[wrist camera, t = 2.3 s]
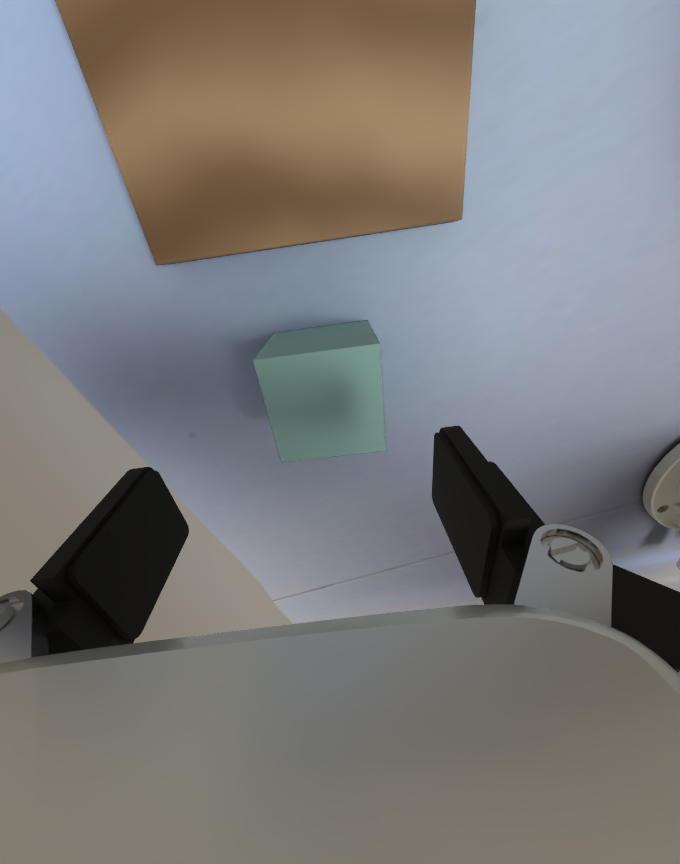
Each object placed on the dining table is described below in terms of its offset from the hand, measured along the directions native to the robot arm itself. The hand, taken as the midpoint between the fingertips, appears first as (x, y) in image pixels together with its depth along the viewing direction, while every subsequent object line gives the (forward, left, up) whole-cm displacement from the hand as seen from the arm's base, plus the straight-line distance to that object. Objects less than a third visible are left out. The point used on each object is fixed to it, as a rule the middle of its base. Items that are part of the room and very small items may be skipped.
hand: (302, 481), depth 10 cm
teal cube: (0, -1, -12) cm, 12 cm away
